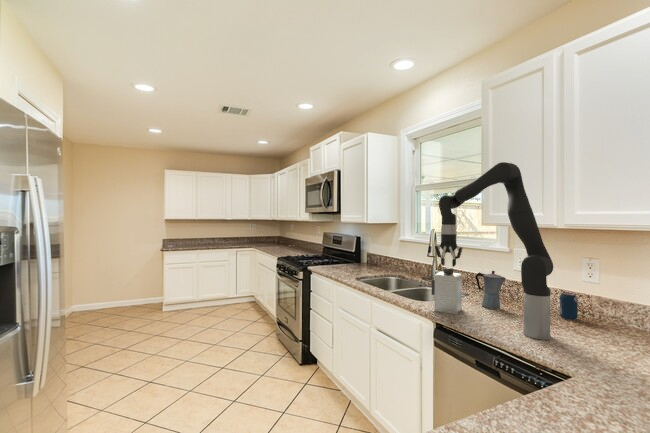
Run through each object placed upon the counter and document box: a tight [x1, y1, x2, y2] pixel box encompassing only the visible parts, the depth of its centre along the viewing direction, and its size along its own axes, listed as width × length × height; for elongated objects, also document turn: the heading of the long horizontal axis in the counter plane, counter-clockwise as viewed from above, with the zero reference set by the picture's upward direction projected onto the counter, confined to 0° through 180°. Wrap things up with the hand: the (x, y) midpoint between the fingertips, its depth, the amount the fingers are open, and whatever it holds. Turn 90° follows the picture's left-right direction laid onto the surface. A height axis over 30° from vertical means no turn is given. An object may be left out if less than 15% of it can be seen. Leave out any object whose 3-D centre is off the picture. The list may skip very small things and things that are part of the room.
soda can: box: [559, 291, 579, 321], centre depth 155 cm, size 7×7×12 cm
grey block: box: [431, 271, 463, 316], centre depth 168 cm, size 14×11×19 cm
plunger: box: [442, 267, 455, 275], centre depth 167 cm, size 9×9×20 cm
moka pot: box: [474, 270, 507, 310], centre depth 174 cm, size 10×15×20 cm, turn 53°
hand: (448, 265), depth 167 cm, fingers open, 4 cm apart
